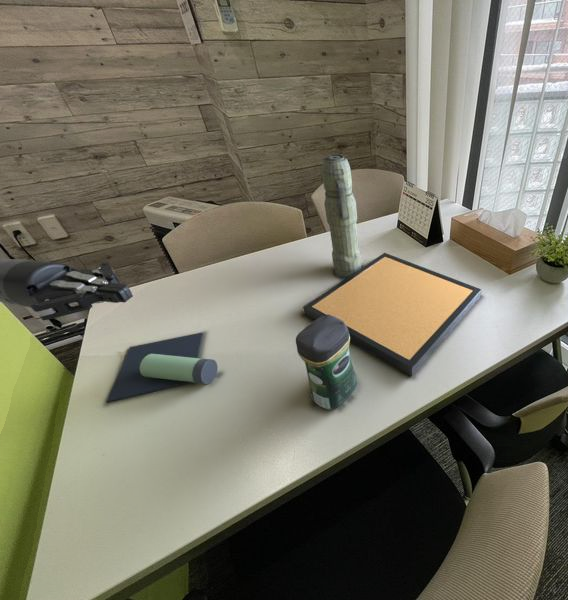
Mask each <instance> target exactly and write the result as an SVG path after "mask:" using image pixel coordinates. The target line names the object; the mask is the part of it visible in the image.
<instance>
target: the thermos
mask: <svg viewBox="0 0 568 600" xmlns="http://www.w3.org/2000/svg"><path fill="white" fill-rule="evenodd" d="M321 175H322V176H321V177H322V182H323V189H324V190H325V192H324V195H325V196H324V197H325V198H324V205H323V206H324V210H325V217H326V223H327V224H328V226H329V232H330V240H331V246H332V247H331V248H332V250H331V257H332V258H331V259H332V265H333V267H334V273H335V275H336V277H339V278H343V279H346V278H347V277H349V276H350V275H352V274H353V273H355V272H356V271H358V270H359V269H361V268H362V264H363V263H362V254H361V253H362V252H361V250H360V249H359V240H358V230H357V228H358V227H357V222H358V210H357V201H356V198H355V196H354V192H353V190H352V188H353V181H352V180H353V179H352V170H351V165H350V163H349V160H348V158H347V157H346V156H344V155H342V154H329V155H326V156H325V157H324V158H322V163H321Z"/></svg>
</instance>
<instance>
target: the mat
mask: <svg viewBox="0 0 568 600" xmlns="http://www.w3.org/2000/svg"><path fill="white" fill-rule="evenodd" d="M203 336H204V333H203V332H198V333H193V334H188V335H182V336H177V337H174V338H168V339H163V340H158V341H153V342H149V343H144V344H138V345H134V346H133V345H132V346H130V347H129V348H128V351H127V353H126V355H125V358H124V359H123V362H122V365H121V367H120V369H119V372H118V374H117V376H116V378H115V380H114V383H113V386H112V387H111V390H110V392H109V395H108V397H107V399H106V402H107V403H108V404H110V403H113V402H118V401H122V400H123V401H124V400H126V399H131V398H135V397H139V396H143V395H147V394H151V393H156V392H160V391H164V390H168V389H172V388H177V387H181V386H186V385H189V384H193V383H194V382H187V381H178V380H169V379H160V378H151V377H144V376H143V375H142V374H141V373H140V364H141V362H142V360H143V359H144V358H145V357H146V356H147V355H149V354H160V355H170V356H180V357H189V358H199V356H200V352H201V347H202V341H203Z"/></svg>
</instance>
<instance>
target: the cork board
mask: <svg viewBox="0 0 568 600" xmlns="http://www.w3.org/2000/svg"><path fill="white" fill-rule="evenodd" d="M482 292H483V289H482V288H479V287H476V286H473V285H471V284H468V283H466V282H463V281H461V280H458V279H456V278H452V277H450V276H447V275H444V274H442V273H440V272H438V271H437V272H436V271H435V270H432V269H429V268H426V267H423V266H421V265H418V264H415V263H413V262H410V261H407V260H405V259H403V258H400V257H397V256H394V255H392V254H390V253H386V252H383V253H382V254H380V255H379V256H377V257H375V258H374V259H372V260H371V261H370V262H368V263H366V264H365V265H364V266H361V269H359V270H358V271H356V272H355V273H353V274H352V275H350V276H349V277H347V278H343V279H342V280H341V281H340V282H338V283H336V284H335V285H334V286H332V287H331V288H329V289H327V290H326V291H325V292H323V293H322V294H320V295H319V296H316V297H315V298H314V299H312V300H311V301H309V302H307V303H306V304H305V305H303V306H302V309H303V314H304V316H306V317H308V318H310V319H311V320H313V321H315V320H316V319H318V318H320V317H322V316H325V315H327V314H329V315H332V316H335V317H337V318H339V319H340V320H342V321H343V322H344V323H345V324H346V326H347V328H348V332H349V335H350V342H351V343H353V344H355V345H356V346H357V347H360V348H362V349H363V350H365V351H367V352H369V353H370V354H371V355H374V356H375V357H378V359H381V360H382V361H384V362H386V363H387V364H389V365H391V366H393V367H395V368H397V369H398V370H400V371H402V372H404V373H405V374H406V375H409V377H413V376H414V375H415V373H416V372H417V371H418V370H419V369H420V368H421V367H422V365H423V364H424V363H425V362H426V361H427V360H428V359H429V358H430V357H431V355H432V354H433V353H434V352H435V350H437V348H438V347H439V346H440V345H441V343H443V341H444V340H445V339H446V338H447V337H448V336H449V334H450V333H451V332H452V331H453V330H454V329H455V327H457V325H458V324H459V323H460V322H461V321H462V320H463V318H464V317H465V316H466V315H467V313H469V311H470V310H471V309H472V308H473V307H474V305H475V304H476V303H477V302H478V301H479V299H480V298H481V297H482Z"/></svg>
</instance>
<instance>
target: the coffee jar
mask: <svg viewBox="0 0 568 600" xmlns="http://www.w3.org/2000/svg"><path fill="white" fill-rule="evenodd" d="M350 342H351V341H350V335H349V332H348V328H347V326H346V324H345V323H344V322H343V321H342V320H340V319H339V318H337V317H335V316H332V315H329V314H327V315H325V316H322V317H320V318H318V319H316V320H313V321H312V322H311V323H309V324H308V325H306V326H305V327H304V328H303V329H302V330H301V331H300V332H299V333H297V335H296V336H295V345H296V351H297V354H298V357H300V359H301V360H302V361H303V362H304V365H305V368H306V373H307V379H308V386H309V392H310V397H311V399H312V400H313V402H314V403H315V404H316V405H318V406H319V407H321V408H323V409H325V410H335V409H337V408H340V406H341V405H343V404H344V403H345V402H346V401H347V400H348V399H349V398H350V397H351V395H352V394H353V393H354V391H355V390H356V388H357V386H358V378H357V374H356V371H355V368H354V365H353V361H352V358H351V353H350Z"/></svg>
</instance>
